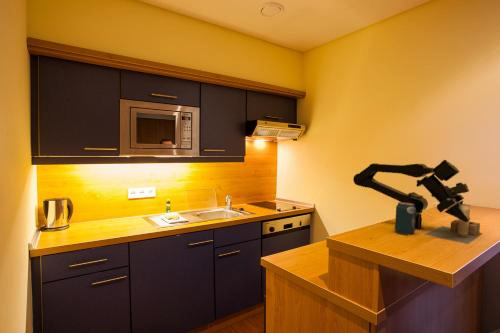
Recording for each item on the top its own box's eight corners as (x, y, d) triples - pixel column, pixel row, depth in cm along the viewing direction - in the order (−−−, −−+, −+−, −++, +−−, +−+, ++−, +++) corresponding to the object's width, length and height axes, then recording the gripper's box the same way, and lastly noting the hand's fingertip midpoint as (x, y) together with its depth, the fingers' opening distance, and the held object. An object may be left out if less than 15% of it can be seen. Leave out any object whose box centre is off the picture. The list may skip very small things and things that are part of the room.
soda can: (417, 236, 110) (419, 205, 110) (397, 234, 112) (399, 204, 111) (410, 231, 117) (412, 202, 117) (392, 230, 119) (394, 201, 118)
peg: (462, 238, 108) (465, 205, 108) (455, 235, 111) (457, 203, 111) (469, 238, 109) (472, 205, 108) (462, 235, 112) (464, 203, 111)
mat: (468, 244, 101) (468, 243, 101) (424, 235, 112) (424, 234, 112) (482, 234, 116) (482, 233, 116) (442, 226, 126) (442, 225, 126)
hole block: (474, 236, 111) (475, 226, 111) (450, 231, 117) (451, 221, 117) (479, 232, 117) (480, 223, 116) (456, 228, 123) (456, 219, 122)
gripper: (449, 176, 105) (485, 211, 98) (459, 174, 118) (492, 205, 111) (423, 195, 111) (455, 229, 104) (435, 191, 124) (465, 221, 117)
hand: (468, 220), depth 109 cm, fingers closed on peg, 3 cm apart
